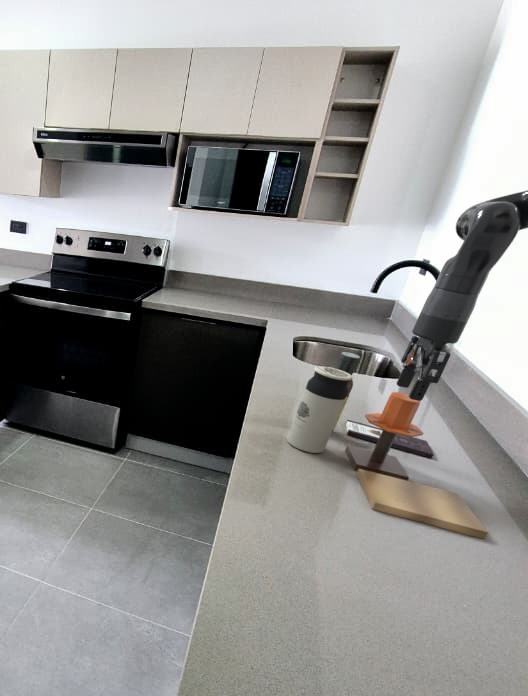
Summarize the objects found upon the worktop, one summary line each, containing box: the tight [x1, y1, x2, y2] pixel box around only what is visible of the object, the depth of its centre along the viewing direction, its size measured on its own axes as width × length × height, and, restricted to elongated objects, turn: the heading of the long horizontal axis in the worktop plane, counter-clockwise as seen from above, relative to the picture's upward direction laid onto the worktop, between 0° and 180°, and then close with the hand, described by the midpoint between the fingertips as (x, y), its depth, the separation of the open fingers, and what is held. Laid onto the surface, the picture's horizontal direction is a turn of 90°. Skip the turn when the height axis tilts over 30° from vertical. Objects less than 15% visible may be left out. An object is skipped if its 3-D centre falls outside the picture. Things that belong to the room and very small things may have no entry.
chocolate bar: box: [345, 419, 434, 459], centre depth 124 cm, size 9×1×18 cm
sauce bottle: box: [331, 351, 361, 434], centre depth 121 cm, size 7×6×20 cm
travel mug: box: [286, 365, 353, 454], centre depth 111 cm, size 8×8×18 cm
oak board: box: [355, 469, 489, 540], centre depth 96 cm, size 18×14×2 cm
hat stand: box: [344, 430, 410, 481], centre depth 106 cm, size 10×10×16 cm
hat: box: [364, 391, 424, 438], centre depth 104 cm, size 10×10×6 cm
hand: (408, 392), depth 102 cm, fingers open, 8 cm apart
